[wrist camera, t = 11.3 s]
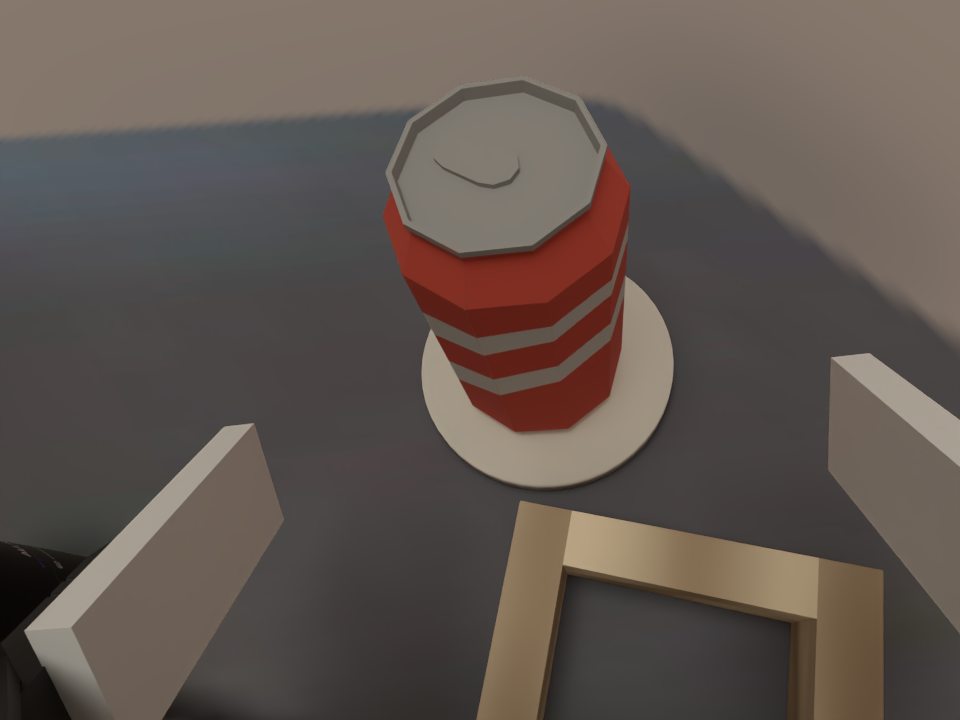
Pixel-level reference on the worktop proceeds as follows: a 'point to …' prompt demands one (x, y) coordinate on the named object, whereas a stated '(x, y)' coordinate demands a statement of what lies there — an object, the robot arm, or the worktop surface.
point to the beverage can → (515, 246)
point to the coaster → (585, 445)
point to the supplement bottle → (29, 580)
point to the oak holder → (694, 577)
